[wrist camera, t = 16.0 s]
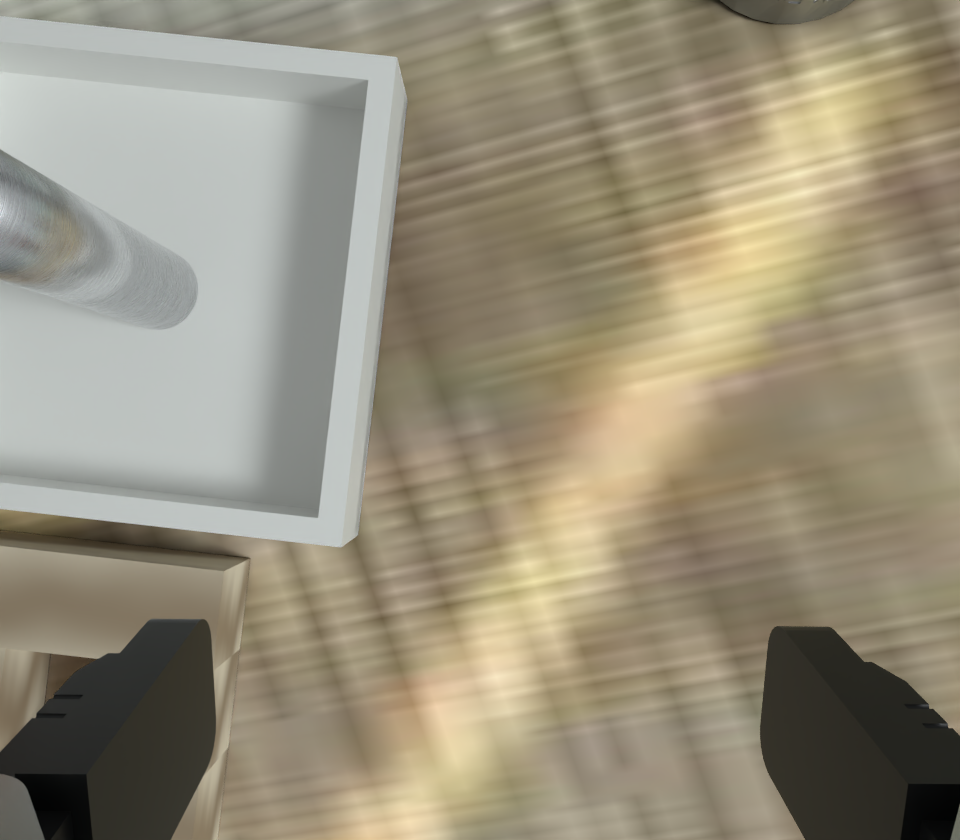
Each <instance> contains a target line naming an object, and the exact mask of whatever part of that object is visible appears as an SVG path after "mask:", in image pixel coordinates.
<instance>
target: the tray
mask: <svg viewBox="0 0 960 840" xmlns="http://www.w3.org/2000/svg"><path fill="white" fill-rule="evenodd" d="M406 109H407V96H406V92H405V88H404V84H403V80H402V76H401V71H400V67H399V63H398V59H397V57H391V56H382V55H372V54H362V53H353V52H343V51H333V50H324V49H314V48H304V47H295V46H285V45H275V44H266V43H256V42H246V41H237V40H227V39H217V38H208V37H198V36H188V35H179V34H169V33H159V32H150V31H140V30H130V29H121V28H111V27H101V26H92V25H82V24H72V23H62V22H53V21H43V20H33V19H24V18H14V17H4V16H0V149H1V150H2V151H4V152H6V153H7V154H9V155H11V156H13V157H14V158H16V159H18V160H19V161H21V162H23V163H24V164H26V165H28V166H29V167H31V168H33V169H34V170H36V171H38V172H39V173H41V174H43V175H45V176H46V177H48V178H50V179H51V180H53V181H55V182H56V183H58V184H60V185H61V186H63V187H65V188H66V189H68V190H70V191H71V192H73V193H75V194H77V195H78V196H80V197H82V198H83V199H85V200H87V201H88V202H90V203H92V204H93V205H95V206H97V207H98V208H100V209H102V210H103V211H105V212H107V213H109V214H110V215H112V216H114V217H115V218H117V219H119V220H120V221H122V222H124V223H125V224H127V225H129V226H130V227H132V228H134V229H135V230H137V231H139V232H141V233H142V234H144V235H146V236H147V237H149V238H151V239H152V240H154V241H156V242H157V243H159V244H161V245H162V246H164V247H166V248H167V249H169V250H171V251H173V252H174V253H176V254H178V255H179V256H181V257H182V258H183V259H185V260H186V261H187V262H188V263H189V265H190V266H191V267H192V269H193V271H194V273H195V275H196V278H197V283H198V296H197V300H196V303H195V306H194V308H193V310H192V311H191V313H190V314H189V315H188V316H187V318H186V319H184V320H183V321H182V322H181V323H179V324H177V325H176V326H174V327H171V328H168V329H162V330H153V329H147V328H144V327H141V326H138V325H135V324H132V323H129V322H126V321H123V320H120V319H116V318H113V317H110V316H107V315H104V314H101V313H98V312H95V311H92V310H89V309H86V308H83V307H79V306H76V305H73V304H70V303H67V302H64V301H61V300H58V299H55V298H52V297H49V296H46V295H42V294H39V293H36V292H33V291H30V290H27V289H24V288H21V287H18V286H15V285H12V284H8V283H5V282H2V281H0V509H6V510H14V511H23V512H32V513H41V514H50V515H59V516H68V517H77V518H86V519H94V520H103V521H112V522H121V523H130V524H139V525H148V526H157V527H166V528H174V529H183V530H192V531H201V532H210V533H219V534H228V535H237V536H246V537H254V538H263V539H272V540H281V541H290V542H299V543H308V544H317V545H326V546H334V547H342V546H344V545H345V544H346V543H348V542H349V541H351V540H352V539H353V538H355V537H356V536H358V531H359V523H360V514H361V505H362V496H363V487H364V479H365V470H366V461H367V452H368V443H369V435H370V426H371V417H372V408H373V399H374V391H375V382H376V373H377V364H378V355H379V346H380V338H381V329H382V320H383V311H384V302H385V294H386V285H387V276H388V267H389V258H390V250H391V241H392V232H393V223H394V214H395V206H396V197H397V188H398V179H399V170H400V162H401V153H402V144H403V135H404V126H405V118H406Z"/></svg>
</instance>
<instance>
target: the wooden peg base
mask: <svg viewBox="0 0 960 840" xmlns="http://www.w3.org/2000/svg"><path fill="white" fill-rule="evenodd" d="M249 566H250V558H243V557H234V556H225V555H216V554H208V553H199V552H190V551H181V550H172V549H163V548H154V547H146V546H137V545H128V544H119V543H110V542H101V541H92V540H84V539H75V538H66V537H57V536H48V535H39V534H30V533H22V532H13V531H4V530H0V752H1V751H2V749H3V748H4V747H5V746H6V745H7V744H8V743H9V742H10V741H11V740H12V739H13V738H14V737H15V736H16V735H17V733H18V732H19V731H20V730H21V729H22V728H23V727H24V726H25V725H26V724H27V723H28V722H29V721H30V720H31V719H32V718H36V713H37V712H38V711H39V710H40V709H41V708H42V707H43V706H44V702H45V694H46V686H47V678H48V669H49V661H50V653H51V654H59V655H68V656H77V657H85V658H94V659H99V658H100V657H102V656H104V655H106V654H107V653H120V652H121V651H122V650H123V649H124V648H125V647H126V645H127V644H128V643H129V642H130V641H131V640H132V639H133V637H134V636H135V635H136V634H137V633H138V632H139V630H140V629H141V628H142V627H143V626H144V625H145V624H146V622H147V621H149V620H150V619H205V620H206V621H207V622H208V624H209V627H210V631H211V639H212V657H213V674H214V691H215V708H216V735H215V742H214V748H213V753H212V756H211V760H210V763H209V765H208V768H207V770H206V772H205V774H204V776H203V778H202V780H201V782H200V784H199V785H198V787H197V789H196V791H195V793H194V795H193V797H192V799H191V801H190V803H189V805H188V807H187V809H186V811H185V813H184V815H183V817H182V819H181V821H180V823H179V825H178V827H177V828H176V830H175V832H174V834H173V836H172V838H171V840H217V839H218V831H219V823H220V814H221V806H222V797H223V789H224V780H225V772H226V763H227V754H228V746H229V737H230V729H231V720H232V712H233V703H234V694H235V686H236V677H237V669H238V660H239V652H240V643H241V634H242V626H243V617H244V609H245V600H246V592H247V583H248V575H249Z"/></svg>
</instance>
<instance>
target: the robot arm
mask: <svg viewBox="0 0 960 840" xmlns="http://www.w3.org/2000/svg"><path fill="white" fill-rule="evenodd" d="M720 1H721V2H723V3H724V4H725V5H727V6H728V7H730V8H731V9H732V10H734V11H736V12H739V13H741V14H743V15H746V16H748V17H750V18H752V19H755V20H760V21H765V22H770V23H775V24H800V23H804V22H809V21H814V20H818V19H822V18H824V17H826V16H829V15H831V14H833V13H835V12H838V11H840V10H842V9H843V8H844V7H846V6H847V5H849V4H850V3H851V2H853V1H854V0H720ZM215 735H216V708H215V691H214V674H213V657H212V639H211V631H210V627H209V624H208V622H207V621H206V620H205V619H150V620H149V621H147V622H146V624H145V625H144V626H143V627H142V628H141V629H140V630H139V632H138V633H137V634H136V635H135V636H134V637H133V639H132V640H131V641H130V642H129V643H128V644H127V645H126V647H125V648H124V649H123V650H122V651H121V652H120V653H107V654H106V655H104V656H102V657H100V658H99V659H97V660H95V661H94V662H92V663H90V664H88V665H87V666H85V667H83V668H81V669H80V670H78V671H76V672H75V673H74V674H73V675H72V676H71V677H70V678H69V679H68V680H67V681H66V682H65V683H64V684H63V686H62V687H61V688H60V689H59V690H58V691H57V692H56V693H55V694H54V698H53V699H49V700H48V701H47V703H46V704H45V705H44V706H43V707H42V708H41V709H40V710H39V711H38V712H37V713H36V718H32V719H31V720H30V721H29V722H28V723H27V724H26V725H25V726H24V727H23V728H22V729H21V730H20V731H19V732H18V733H17V735H16V736H15V737H14V738H13V739H12V740H11V741H10V742H9V743H8V744H7V745H6V746H5V747H4V748H3V749H2V751H1V752H0V840H171V838H172V836H173V834H174V832H175V830H176V828H177V827H178V825H179V823H180V821H181V819H182V817H183V815H184V813H185V811H186V809H187V807H188V805H189V803H190V801H191V799H192V797H193V795H194V793H195V791H196V789H197V787H198V785H199V784H200V782H201V780H202V778H203V776H204V774H205V772H206V770H207V768H208V765H209V763H210V760H211V756H212V753H213V748H214V742H215ZM760 739H761V748H762V754H763V759H764V762H765V766H766V769H767V771H768V773H769V775H770V777H771V779H772V781H773V783H774V784H775V786H776V788H777V790H778V792H779V793H780V795H781V797H782V799H783V800H784V802H785V804H786V806H787V808H788V809H789V811H790V813H791V815H792V817H793V818H794V820H795V822H796V824H797V826H798V827H799V829H800V831H801V833H802V835H803V836H804V838H805V840H960V736H959V735H958V733H957V732H956V731H955V730H954V729H953V728H948V723H947V722H946V721H945V720H944V719H943V718H942V717H941V716H940V715H939V714H938V713H937V712H936V711H935V710H934V709H929V704H928V703H927V702H926V701H925V700H924V699H923V698H922V697H921V696H920V695H919V694H918V693H917V692H916V691H915V690H914V689H913V688H912V687H911V686H910V685H909V684H908V683H907V682H906V681H904V680H902V679H901V678H899V677H897V676H895V675H894V674H892V673H890V672H888V671H887V670H885V669H883V668H881V667H880V666H878V665H876V664H874V663H873V662H864V661H863V660H862V659H861V658H860V657H859V656H858V655H857V654H856V653H855V652H854V651H853V650H852V649H851V648H850V646H849V645H848V644H847V643H846V642H845V641H844V640H843V639H842V638H841V637H840V636H839V635H838V634H837V633H836V632H835V630H833V629H832V628H830V627H796V626H777V627H775V628H774V629H773V630H772V632H771V634H770V637H769V642H768V650H767V661H766V671H765V682H764V692H763V703H762V713H761V724H760Z"/></svg>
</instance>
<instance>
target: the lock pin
mask: <svg viewBox="0 0 960 840" xmlns="http://www.w3.org/2000/svg"><path fill="white" fill-rule="evenodd" d="M0 281H2V282H5V283H8V284H12V285H15V286H18V287H21V288H24V289H27V290H30V291H33V292H36V293H39V294H42V295H46V296H49V297H52V298H55V299H58V300H61V301H64V302H67V303H70V304H73V305H76V306H79V307H83V308H86V309H89V310H92V311H95V312H98V313H101V314H104V315H107V316H110V317H113V318H116V319H120V320H123V321H126V322H129V323H132V324H135V325H138V326H141V327H144V328H147V329H153V330H162V329H168V328H171V327H174V326H176V325H177V324H179V323H181V322H182V321H183V320H184V319H186V318H187V316H188V315H189V314H190V313H191V311H192V310H193V308H194V306H195V303H196V300H197V296H198V283H197V278H196V275H195V273H194V271H193V269H192V267H191V266H190V265H189V263H188V262H187V261H186V260H185V259H183V258H182V257H181V256H179V255H178V254H176V253H174V252H173V251H171V250H169V249H167V248H166V247H164V246H162V245H161V244H159V243H157V242H156V241H154V240H152V239H151V238H149V237H147V236H146V235H144V234H142V233H141V232H139V231H137V230H135V229H134V228H132V227H130V226H129V225H127V224H125V223H124V222H122V221H120V220H119V219H117V218H115V217H114V216H112V215H110V214H109V213H107V212H105V211H103V210H102V209H100V208H98V207H97V206H95V205H93V204H92V203H90V202H88V201H87V200H85V199H83V198H82V197H80V196H78V195H77V194H75V193H73V192H71V191H70V190H68V189H66V188H65V187H63V186H61V185H60V184H58V183H56V182H55V181H53V180H51V179H50V178H48V177H46V176H45V175H43V174H41V173H39V172H38V171H36V170H34V169H33V168H31V167H29V166H28V165H26V164H24V163H23V162H21V161H19V160H18V159H16V158H14V157H13V156H11V155H9V154H7V153H6V152H4V151H2V150H1V149H0Z"/></svg>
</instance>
